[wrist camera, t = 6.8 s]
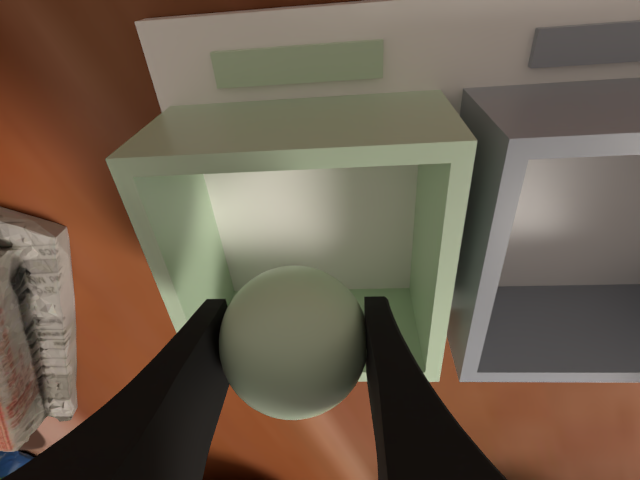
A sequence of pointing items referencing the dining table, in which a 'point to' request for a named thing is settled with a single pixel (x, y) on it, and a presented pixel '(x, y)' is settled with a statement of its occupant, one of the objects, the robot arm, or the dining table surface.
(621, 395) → the dining table surface
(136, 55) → the dining table surface
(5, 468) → the snack cup
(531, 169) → the two-tone hollow container
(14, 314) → the packaged product
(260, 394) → the ball
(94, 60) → the dining table surface
